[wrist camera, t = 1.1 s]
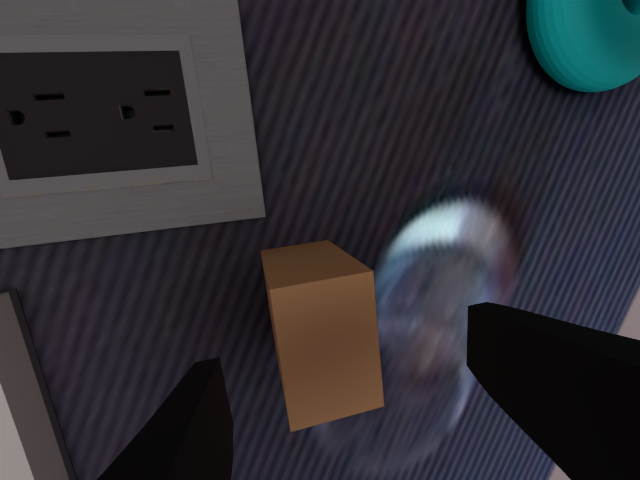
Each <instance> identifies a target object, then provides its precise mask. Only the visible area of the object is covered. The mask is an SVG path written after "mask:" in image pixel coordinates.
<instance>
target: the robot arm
mask: <svg viewBox="0 0 640 480" xmlns="http://www.w3.org/2000/svg"><path fill="white" fill-rule="evenodd" d="M467 366H468V368H469V369H470V370H471V372H472V373H473V375H474V376H475V377H476V379H477V380H478V381H479V383H480V384H481V385H482V386H483V388H484V389H485V390H486V392H487V393H488V394H489V395H490V396H491V398H492V399H493V400H494V401H495V402H496V403H497V404H498V405H499V406H500V407H501V408H502V409H503V410H504V411H505V412H506V413H507V414H508V415H509V416H510V417H511V418H512V420H513V421H514V422H515V423H516V424H517V425H518V426H519V427H520V428H521V429H522V430H523V431H524V432H525V433H526V434H527V435H528V436H529V437H530V438H531V439H532V440H533V441H534V442H535V443H536V444H537V445H538V446H539V447H540V448H541V449H542V450H543V451H544V452H545V453H546V454H547V455H548V456H549V457H550V458H551V459H552V460H553V461H554V462H555V463H556V464H557V465H558V466H559V467H560V468H561V469H562V470H563V472H564V473H566V475H567V476H568V477H569V478H570V479H571V480H640V340H636V339H632V338H628V337H624V336H620V335H615V334H611V333H607V332H603V331H599V330H595V329H591V328H587V327H583V326H580V325H576V324H572V323H568V322H565V321H561V320H557V319H554V318H550V317H546V316H543V315H539V314H535V313H532V312H528V311H524V310H520V309H516V308H512V307H508V306H504V305H499V304H494V303H489V302H485V303H480V304H475V305H470V306H468V330H467ZM232 464H233V420H232V415H231V410H230V406H229V401H228V396H227V392H226V387H225V382H224V377H223V373H222V368H221V363H220V359H219V358H214V359H209V360H204V361H199V362H195V363H194V364H193V365H192V367H191V368H190V369H189V370H188V372H187V373H186V374H185V375H184V377H183V378H182V379H181V380H180V382H179V383H178V384H177V386H176V387H175V388H174V389H173V391H172V392H171V393H170V395H169V396H168V397H167V398H166V400H165V401H164V402H163V404H162V405H161V406H160V407H159V408H158V410H157V411H156V412H155V413H154V415H153V416H152V417H151V418H150V420H149V421H148V422H147V423H146V425H145V426H144V427H143V428H142V429H141V431H140V432H139V433H138V434H137V435H136V436H135V437H134V439H133V440H132V441H131V442H130V443H129V444H128V445H127V446H126V448H125V449H124V450H123V451H122V452H121V453H120V454H119V456H118V457H117V458H116V459H115V460H114V461H113V462H112V464H111V465H110V466H109V467H108V468H107V469H106V470H105V471H104V472H103V474H102V475H101V476H100V477H99V478H98V479H97V480H231V474H232Z"/></svg>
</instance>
